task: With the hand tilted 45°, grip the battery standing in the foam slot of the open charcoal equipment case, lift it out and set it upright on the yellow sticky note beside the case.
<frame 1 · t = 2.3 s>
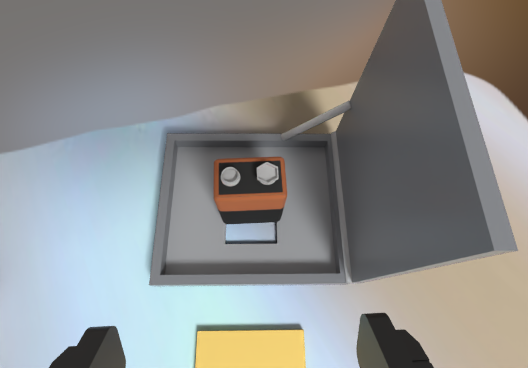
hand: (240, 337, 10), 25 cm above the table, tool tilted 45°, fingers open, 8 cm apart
equipment case: (251, 207, 37), on the table
battery: (251, 206, 37), resting in equipment case
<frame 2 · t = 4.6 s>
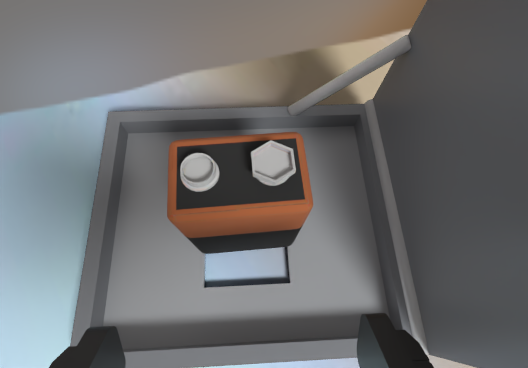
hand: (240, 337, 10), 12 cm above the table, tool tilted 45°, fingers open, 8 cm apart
equipment case: (245, 223, 23), on the table
battery: (245, 222, 23), resting in equipment case
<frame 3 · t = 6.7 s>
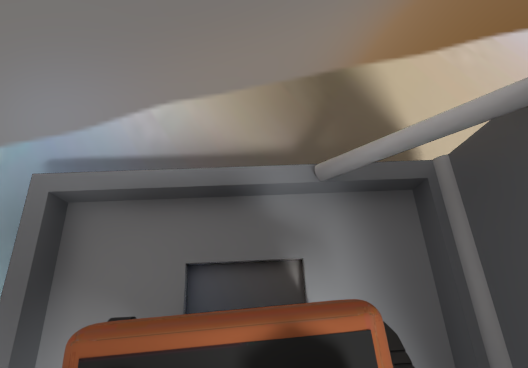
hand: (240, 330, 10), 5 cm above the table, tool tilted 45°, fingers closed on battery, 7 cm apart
equipment case: (247, 359, 15), on the table
battery: (247, 360, 14), resting in equipment case, touching gripper
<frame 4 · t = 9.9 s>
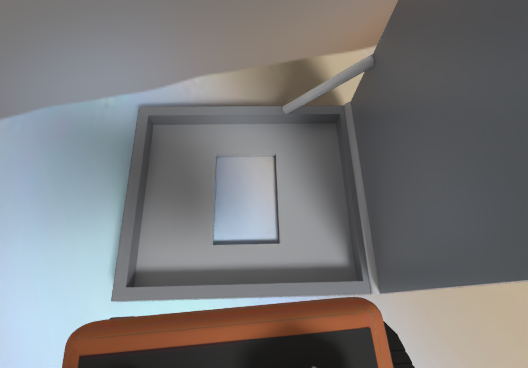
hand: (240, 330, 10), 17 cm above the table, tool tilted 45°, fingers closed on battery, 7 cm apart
equipment case: (246, 198, 30), on the table
battery: (247, 359, 14), point 12 cm above the table, touching gripper
when the fingers open (7 cm above the table, at t = 12.9 s): battery drops 2 cm, resting on yellow sticky note.
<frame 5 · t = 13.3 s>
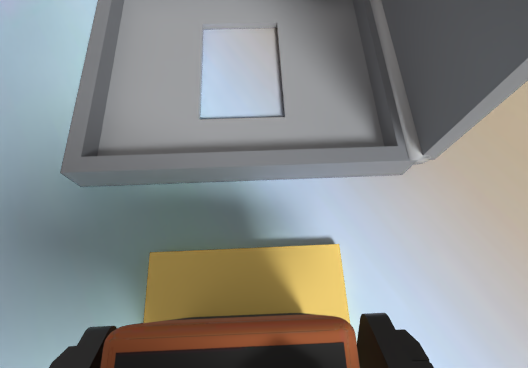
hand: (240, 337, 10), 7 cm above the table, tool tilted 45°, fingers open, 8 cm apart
yellow sticky note: (248, 353, 16), on the table
equipment case: (241, 71, 24), on the table
battery: (245, 360, 16), resting on yellow sticky note
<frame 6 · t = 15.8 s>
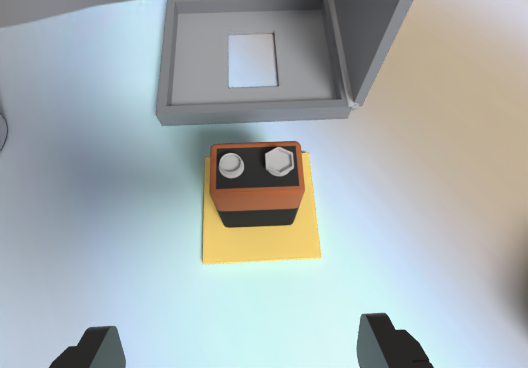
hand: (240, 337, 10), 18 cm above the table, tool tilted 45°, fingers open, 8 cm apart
yellow sticky note: (259, 205, 31), on the table
equipment case: (252, 60, 38), on the table
battery: (258, 206, 31), resting on yellow sticky note
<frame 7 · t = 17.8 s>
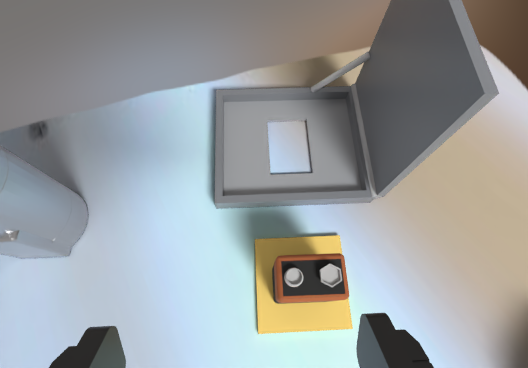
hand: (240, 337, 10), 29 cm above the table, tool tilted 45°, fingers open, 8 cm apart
yellow sticky note: (300, 282, 38), on the table
equipment case: (288, 147, 45), on the table
battery: (300, 283, 38), resting on yellow sticky note
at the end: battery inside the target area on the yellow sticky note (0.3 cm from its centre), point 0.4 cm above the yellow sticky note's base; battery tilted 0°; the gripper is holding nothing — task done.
